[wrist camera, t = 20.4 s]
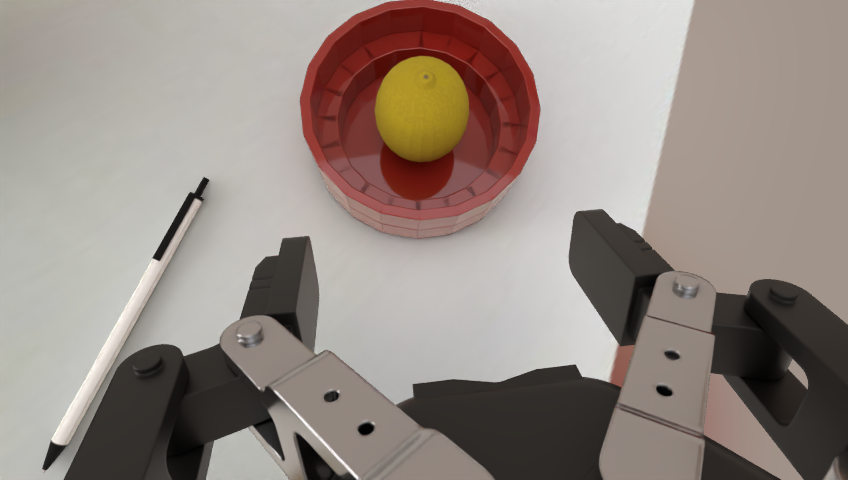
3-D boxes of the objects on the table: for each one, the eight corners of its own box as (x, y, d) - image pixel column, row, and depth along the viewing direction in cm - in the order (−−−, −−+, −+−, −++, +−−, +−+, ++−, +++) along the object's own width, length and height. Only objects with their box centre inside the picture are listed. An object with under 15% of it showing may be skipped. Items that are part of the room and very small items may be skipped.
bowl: (274, 137, 34) (250, 97, 28) (420, 16, 36) (423, -41, 31) (415, 283, 32) (418, 270, 27) (557, 146, 34) (587, 109, 29)
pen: (215, 183, 32) (208, 177, 31) (55, 473, 28) (41, 478, 27) (202, 178, 33) (196, 172, 31) (41, 467, 28) (27, 472, 27)
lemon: (373, 174, 33) (365, 119, 25) (383, 97, 34) (378, 22, 26) (456, 183, 33) (475, 131, 25) (463, 107, 34) (483, 34, 26)
